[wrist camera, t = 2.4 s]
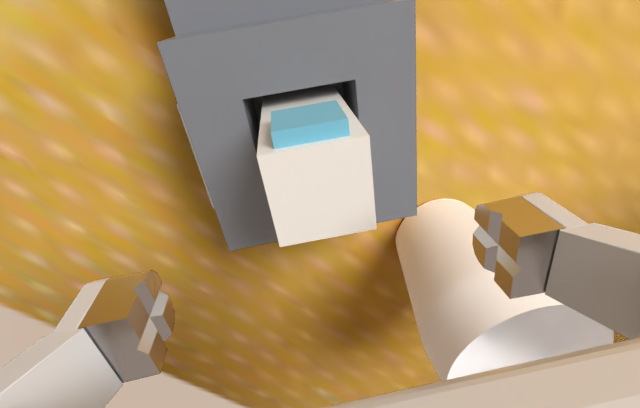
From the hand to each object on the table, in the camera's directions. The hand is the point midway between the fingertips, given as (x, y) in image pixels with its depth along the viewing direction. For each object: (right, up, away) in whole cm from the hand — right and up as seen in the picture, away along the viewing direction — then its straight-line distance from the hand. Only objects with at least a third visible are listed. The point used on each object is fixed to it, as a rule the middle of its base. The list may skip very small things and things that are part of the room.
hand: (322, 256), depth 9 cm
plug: (-1, +6, +10) cm, 12 cm away
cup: (+9, -1, +19) cm, 22 cm away
